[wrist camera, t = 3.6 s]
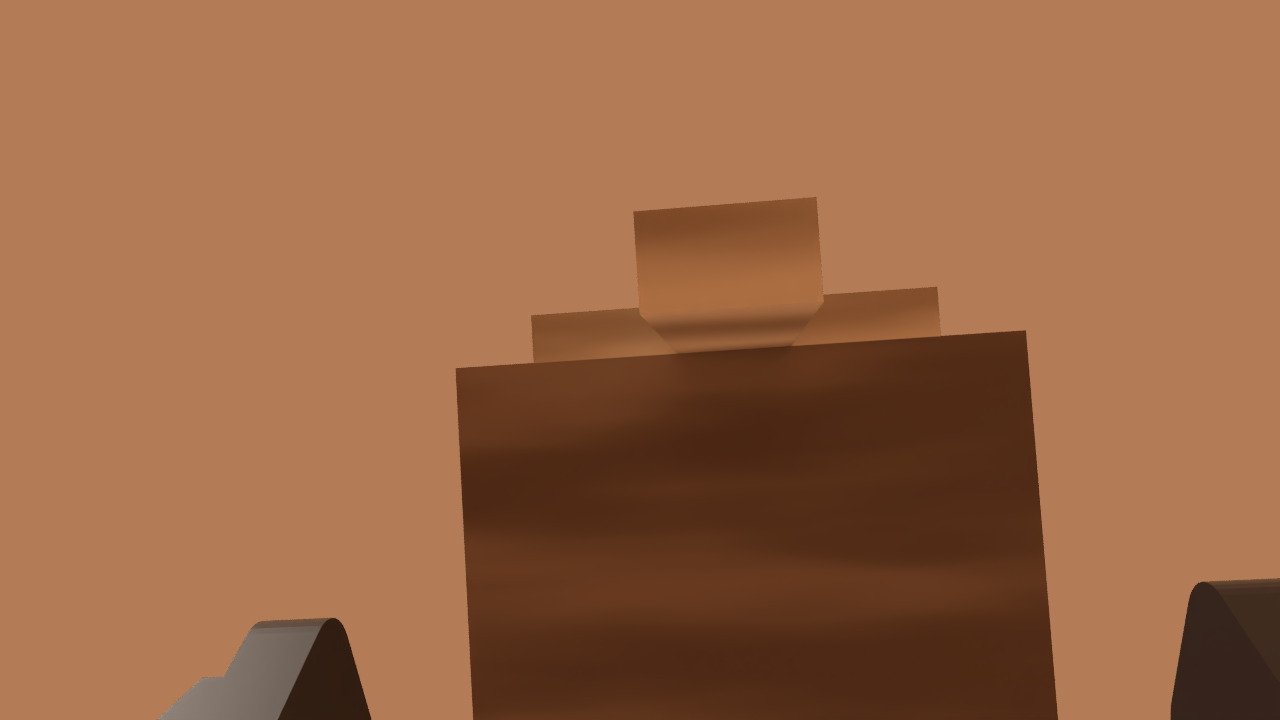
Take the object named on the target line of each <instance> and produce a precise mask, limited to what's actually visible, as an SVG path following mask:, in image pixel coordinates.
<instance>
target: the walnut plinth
mask: <svg viewBox="0 0 1280 720" xmlns="http://www.w3.org/2000/svg"><path fill="white" fill-rule="evenodd" d="M456 384H457V405H458V423H459V424H458V425H459V445H460V464H461V484H462V504H463V521H464V522H463V524H464V543H465V563H466V583H467V604H468V624H469V643H470V664H471V683H472V703H473V720H1058V715H1057V703H1056V690H1055V678H1054V666H1053V655H1052V644H1051V643H1052V642H1051V630H1050V618H1049V606H1048V594H1047V581H1046V570H1045V557H1044V545H1043V534H1042V521H1041V510H1040V498H1039V485H1038V473H1037V461H1036V449H1035V436H1034V424H1033V412H1032V400H1031V388H1030V376H1029V364H1028V352H1027V340H1026V331H1011V332H996V333H981V334H966V335H952V336H951V335H950V336H936V337H920V338H905V339H890V340H875V341H860V342H845V343H830V344H815V345H800V346H785V347H770V348H755V349H740V350H725V351H709V352H694V353H679V354H664V355H649V356H634V357H619V358H604V359H589V360H574V361H559V362H544V363H528V364H513V365H500V366H484V367H468V368H456Z"/></svg>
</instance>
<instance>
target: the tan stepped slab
mask: <svg viewBox="0 0 1280 720" xmlns="http://www.w3.org/2000/svg"><path fill="white" fill-rule="evenodd" d="M634 228H635V245H636V261H637V278H638V293H639V308H632V309H616V310H603V311H589V312H574V313H562V314H547V315H532V316H531V321H532V339H533V358H534V363H544V362H559V361H574V360H589V359H604V358H619V357H634V356H649V355H664V354H679V353H694V352H709V351H725V350H740V349H755V348H770V347H785V346H800V345H815V344H830V343H845V342H860V341H875V340H890V339H905V338H920V337H936V336H941V333H940V332H941V331H940V318H939V305H938V292H937V287H929V288H916V289H902V290H888V291H887V290H886V291H872V292H858V293H845V294H830V295H823V284H822V271H821V256H820V242H819V228H818V214H817V200H816V197H813V198H802V199H788V200H775V201H763V202H749V203H737V204H724V205H711V206H699V207H686V208H674V209H662V210H661V209H660V210H649V211H635V212H634Z"/></svg>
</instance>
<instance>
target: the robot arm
mask: <svg viewBox="0 0 1280 720" xmlns="http://www.w3.org/2000/svg"><path fill="white" fill-rule="evenodd" d="M157 720H371V716H370V713H369V709H368V706H367V703H366V699H365V696H364V692H363V689H362V685H361V682H360V678H359V675H358V671H357V668H356V665H355V661H354V657H353V654H352V650H351V647H350V644H349V640H348V637H347V634H346V631H345V629H344V627H343V625H342V623H341V622H340V621H339V620H337V619H336V618H321V619H298V620H274V621H261V622H258V623H257V624H255V625H254V626H253V627H252V628H251V629H250V631H249V633H248V634H247V636H246V638H245V639H244V641H243V643H242V645H241V647H240V649H239V650H238V652H237V654H236V656H235V658H234V659H233V661H232V663H231V665H230V666H229V668H228V670H227V672H226V674H225V675H224V677H209V678H208V677H205V678H202V679H201V680H199V681H198V682H197V683H196V684H195V685H194V686H193V687H192V688H191V689H190V690H189V691H188V692H187V693H185V694H184V695H183V696H182V697H181V698H180V699H179V700H178V701H177V702H176V703H175V704H173V705H172V707H170V708H169V709H168V710H167V711H166V712H165V713H164V714H163V715H162V716H160V717H159V718H158V719H157ZM1171 720H1280V578H1277V579H1254V580H1232V581H1210V582H1200V583H1198V584H1197V585H1196V586H1195V587H1194V588H1193V590H1192V592H1191V595H1190V599H1189V603H1188V608H1187V614H1186V620H1185V626H1184V632H1183V638H1182V644H1181V650H1180V656H1179V662H1178V667H1177V674H1176V679H1175V685H1174V691H1173V697H1172V703H1171Z"/></svg>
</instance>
